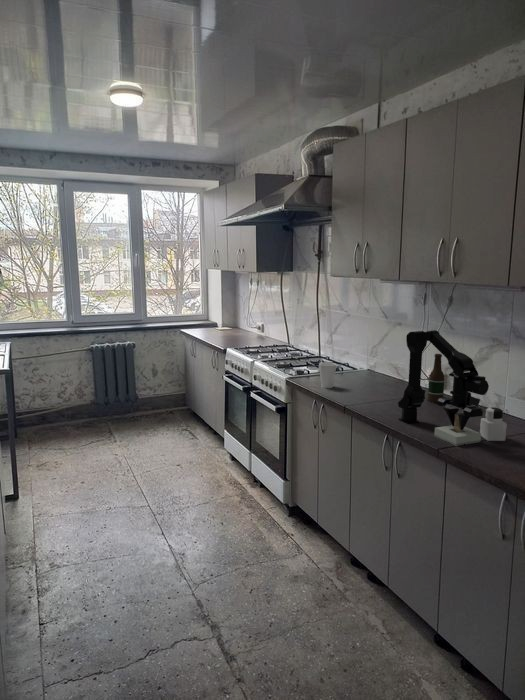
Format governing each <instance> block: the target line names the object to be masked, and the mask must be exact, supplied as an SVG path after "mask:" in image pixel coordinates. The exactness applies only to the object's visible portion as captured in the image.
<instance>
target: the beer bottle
mask: <svg viewBox="0 0 525 700" xmlns="http://www.w3.org/2000/svg"><path fill="white" fill-rule="evenodd" d="M442 357H443V354H442V353H435V354H434V360H433V361H434V363H433V369H432V370H431V372H430V374H429V378H428V390H427V402H429V401H430V402H429V403H432V402H433V403H432V404H437V402H438V399H439V398H444V395H445V394H444V392H445V391H444V389H445V374H444V371H443V369H442Z"/></svg>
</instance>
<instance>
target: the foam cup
mask: <svg viewBox="0 0 525 700" xmlns="http://www.w3.org/2000/svg"><path fill="white" fill-rule="evenodd" d="M318 368H319V375H320V384H321V385H320V386H321V388H323V389H332V388H333V387H334V383H335V377H336V370H337V363H335V362H330V361H329V362H327V361H326V362H319V364H318Z"/></svg>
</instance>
